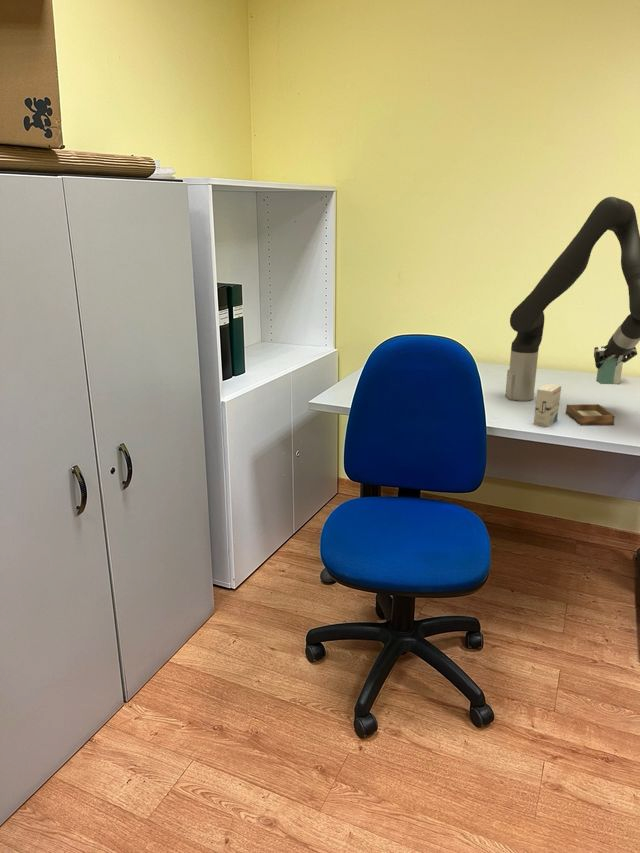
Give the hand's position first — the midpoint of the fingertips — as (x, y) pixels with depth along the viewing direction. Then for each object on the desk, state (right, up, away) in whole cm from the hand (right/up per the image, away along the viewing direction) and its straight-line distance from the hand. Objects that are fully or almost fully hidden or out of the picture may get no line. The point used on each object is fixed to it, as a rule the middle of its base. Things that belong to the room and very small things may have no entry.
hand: (604, 366), depth 216 cm
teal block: (0, -6, 0) cm, 5 cm away
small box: (+18, -3, +36) cm, 40 cm away
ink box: (-24, -19, -11) cm, 33 cm away
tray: (-9, -18, -9) cm, 22 cm away
